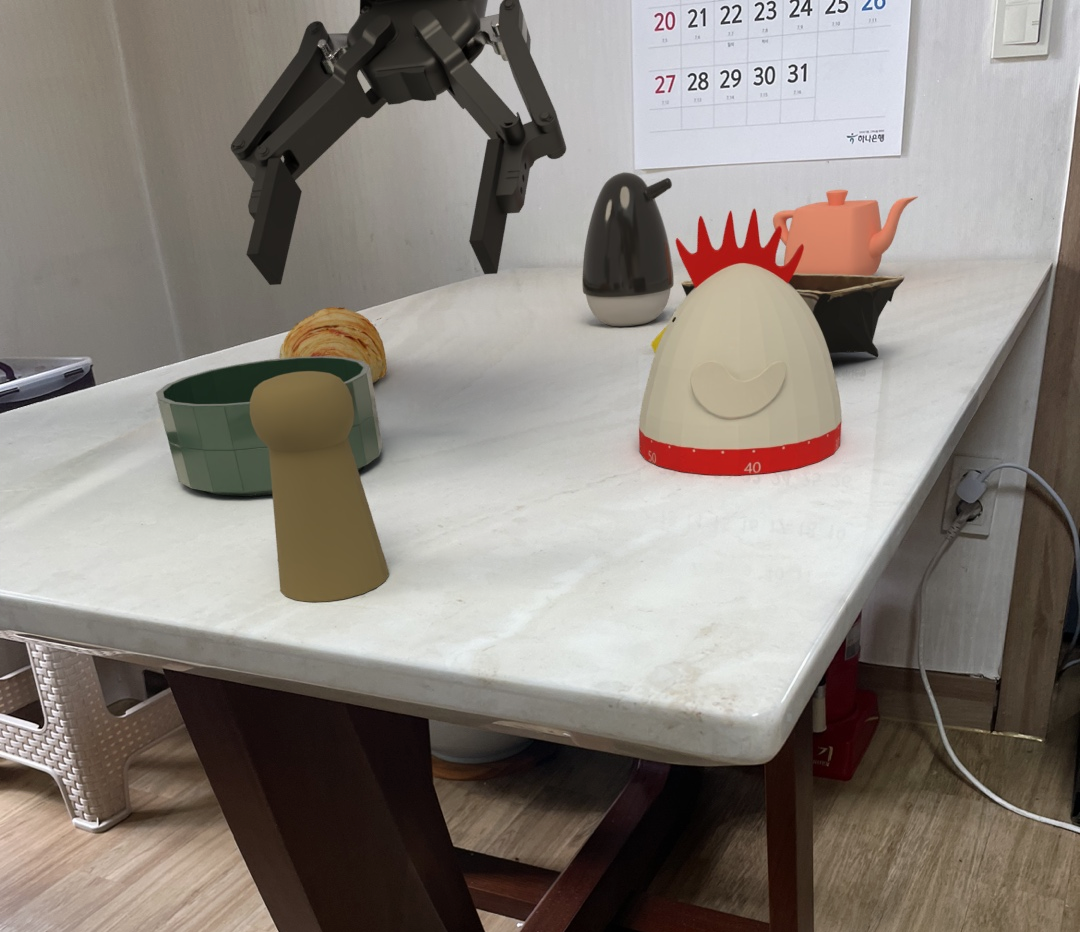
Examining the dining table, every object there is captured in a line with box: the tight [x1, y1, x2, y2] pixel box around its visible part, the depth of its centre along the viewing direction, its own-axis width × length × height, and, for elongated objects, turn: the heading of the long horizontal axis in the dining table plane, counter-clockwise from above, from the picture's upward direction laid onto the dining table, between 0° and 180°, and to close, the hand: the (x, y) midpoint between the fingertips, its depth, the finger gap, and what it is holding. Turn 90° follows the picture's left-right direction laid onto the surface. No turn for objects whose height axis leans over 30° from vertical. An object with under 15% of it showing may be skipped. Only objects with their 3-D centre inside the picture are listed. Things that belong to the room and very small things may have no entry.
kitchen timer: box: [638, 208, 843, 476], centre depth 70 cm, size 14×14×15 cm
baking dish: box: [680, 273, 906, 359], centre depth 92 cm, size 14×18×10 cm
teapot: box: [772, 189, 918, 276], centre depth 129 cm, size 12×18×10 cm, turn 56°
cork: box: [250, 371, 390, 603], centre depth 55 cm, size 6×6×11 cm
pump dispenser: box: [581, 171, 674, 327], centre depth 115 cm, size 10×10×15 cm
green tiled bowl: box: [155, 356, 383, 497], centre depth 76 cm, size 15×15×6 cm
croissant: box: [278, 306, 388, 383], centre depth 102 cm, size 21×10×8 cm, turn 8°
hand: (370, 264), depth 59 cm, fingers open, 13 cm apart
